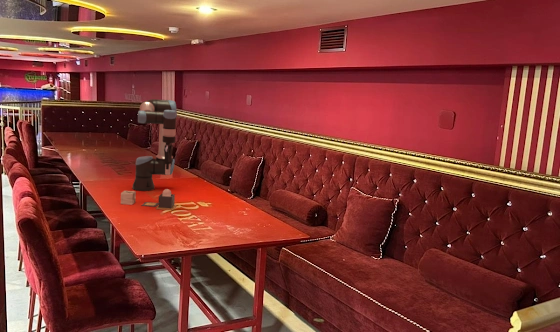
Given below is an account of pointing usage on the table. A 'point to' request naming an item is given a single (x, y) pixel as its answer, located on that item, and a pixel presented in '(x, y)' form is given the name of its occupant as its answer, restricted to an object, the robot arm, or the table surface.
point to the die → (128, 197)
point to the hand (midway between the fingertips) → (167, 174)
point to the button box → (166, 202)
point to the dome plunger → (167, 193)
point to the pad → (150, 204)
